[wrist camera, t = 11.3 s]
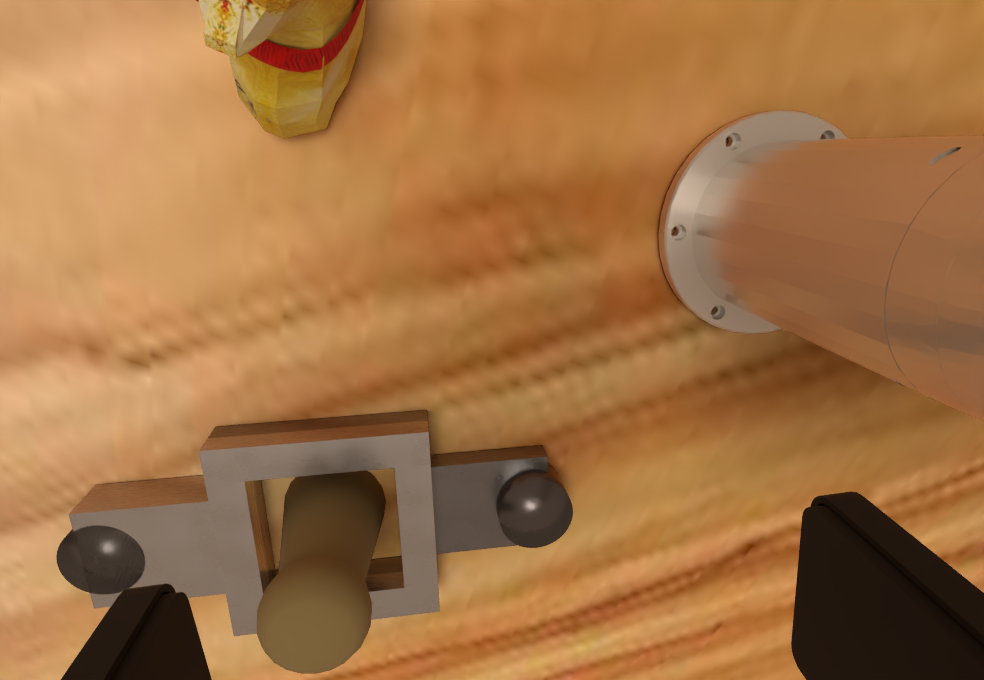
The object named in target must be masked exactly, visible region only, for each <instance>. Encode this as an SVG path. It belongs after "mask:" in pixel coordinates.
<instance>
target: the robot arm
mask: <svg viewBox="0 0 984 680" xmlns="http://www.w3.org/2000/svg"><path fill="white" fill-rule="evenodd" d="M726 138H728V140H729V142H728V145H727V146H726V142H725V141H726ZM674 227H675V228H676V231H675V233H674V234H673V235H671V231H672V229H673V228H674ZM658 238H659V250H660V259H661V262H662V266H663V269H664V273H665V276H666V278H667V280H668V282H669V284H670V286H671V288H672V290H673V292H674V293H675V295H676V296H677V297H678V298H679V300H680V301H681V302H682V303H683V304H684V306H685V307H686V308H687V309H689V310H690V311H691V312H693V313H694V314H695V315H696V316H698V317H699V318H700V319H702V320H704V321H706V322H707V323H709V324H711V325H713V326H715V327H718V328H721V329H724V330H727V331H730V332H735V333H743V334H761V333H770V332H774V331H778V330H781V329H784V330H786V331H789V332H791V333H793V334H795V335H797V336H799V337H801V338H803V339H806V340H808V341H810V342H812V343H814V344H816V345H818V346H820V347H823V348H825V349H827V350H829V351H831V352H833V353H835V354H837V355H840V356H842V357H844V358H846V359H848V360H850V361H852V362H854V363H856V364H859V365H861V366H863V367H865V368H867V369H869V370H871V371H873V372H876V373H878V374H880V375H882V376H884V377H886V378H888V379H890V380H893V381H895V382H897V383H899V384H901V385H903V386H906V387H908V388H910V389H912V390H914V391H916V392H918V393H920V394H922V395H924V396H926V397H929V398H931V399H933V400H936V401H938V402H941V403H943V404H945V405H947V406H949V407H951V408H954V409H956V410H958V411H960V412H963V413H965V414H967V415H970V416H972V417H975V418H978V419H980V420H983V421H984V135H974V136H935V137H895V138H855V139H849V138H848V137H847V136H846V135H845V134H844V133H843V132H842V131H841V130H840V129H839V128H837V127H836V126H834V125H832V124H831V123H829V122H828V121H826V120H824V119H823V118H820V117H817V116H814V115H811V114H808V113H805V112H799V111H788V110H779V111H767V112H761V113H757V114H753V115H748V116H744V117H742V118H740V119H737V120H735V121H733V122H731V123H729V124H726V125H724V126H723V127H721V128H720V129H718V130H717V131H716V132H714V133H713V134H711V135H710V136H708V137H707V138H706V139H705V140H704V141H703V142H702V143H701V144H700V145H699V146H698V147H697V148H696V149H695V150H694V151H693V152H692V153H691V154H690V155H689V156H688V158H687V159H686V160H685V162H684V163H683V165H682V166H681V168H680V169H679V170H678V172H677V173H676V175H675V177H674V179H673V181H672V184H671V186H670V188H669V190H668V192H667V194H666V198H665V201H664V205H663V208H662V212H661V216H660V226H659V235H658ZM713 308H714V310H713V311H712V309H713ZM711 311H712V312H711ZM791 643H792V652H793V656H794V659H795V662H796V664H797V666H798V668H799V670H800V671H801V673H802V674H803V676H804V677H805V678H806V680H984V593H983V592H982V591H980V590H979V589H978V588H977V587H975V586H974V585H973V584H972V583H970V582H969V581H968V580H967V579H966V578H964V577H963V576H962V575H961V574H959V573H958V572H957V571H956V570H954V569H953V568H952V567H951V566H949V565H948V564H947V563H946V562H944V561H943V560H942V559H941V558H939V557H938V556H937V555H936V554H934V553H933V552H932V551H931V550H929V549H928V548H927V547H926V546H924V545H923V544H922V543H921V542H919V541H918V540H917V539H916V538H914V537H913V536H912V535H911V534H909V533H908V532H907V531H906V530H904V529H903V528H902V527H901V526H899V525H898V524H897V523H896V522H894V521H893V520H892V519H891V518H889V517H888V516H887V515H886V514H885V513H883V512H882V511H881V510H880V509H878V508H877V507H876V506H875V505H873V504H872V503H871V502H870V501H868V500H867V499H866V498H865V497H863V496H862V495H860V494H858V493H857V492H845V493H838V494H830V495H823V496H818V497H816V498H814V500H813V501H812V503H811V507H808V508H806V509H805V510H804V512H803V516H802V527H801V538H800V550H799V561H798V573H797V584H796V596H795V607H794V619H793V630H792V642H791ZM61 680H212V679H211V676H210V672H209V669H208V666H207V662H206V659H205V655H204V652H203V648H202V645H201V641H200V638H199V634H198V631H197V628H196V624H195V621H194V617H193V614H192V610H191V607H190V603H189V600H188V598H187V595H186V594H185V593H183V592H177V593H176V591H175V589H174V588H173V586H172V585H171V584H167V583H166V584H158V585H151V586H143V587H136V588H128V589H126V590H124V591H123V592H122V593H121V594H120V595H119V596H118V597H117V599H116V600H115V602H114V603H113V605H112V606H111V607H110V609H109V610H108V612H107V613H106V615H105V616H104V618H103V619H102V621H101V622H100V623H99V625H98V626H97V628H96V629H95V631H94V632H93V634H92V635H91V637H90V638H89V639H88V641H87V642H86V644H85V645H84V647H83V648H82V650H81V651H80V653H79V654H78V655H77V657H76V658H75V660H74V661H73V663H72V664H71V666H70V667H69V669H68V670H67V671H66V673H65V674H64V676H63V677H62V679H61Z"/></svg>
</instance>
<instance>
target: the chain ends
mask: <svg viewBox="0 0 984 680" xmlns="http://www.w3.org/2000/svg"><path fill="white" fill-rule="evenodd" d="M199 454H200V459H201V465H202V470H203V475H200V476H189V477H178V478H166V479H155V480H144V481H132V482H121V483H110V484H98V485H95V486H94V487H93V488H92V490H91V491H90V492H89V493H88V494H87V495H86V496H85V497H84V498H83V499H82V500H81V502H80V503H79V504H78V505H77V506H76V507H75V508H74V509H73V510H72V511H71V512H70V513H69V518H70V521H71V525H72V530H71V531H70V533H69V534H68V535H67V536H66V537H65V538H64V539H63V541H62V542H61V544H60V546H59V548H58V551H57V564H58V567H59V570H60V572H61V573H62V575H63V576H64V578H65V579H66V580H67V581H68V582H70V583H71V584H72V585H74V586H75V587H77V588H79V589H81V590H83V591H86V592H89V593H90V595H91V599H92V603H93V606H94V608H101V607H110V606H112V605H113V603H114V602H115V600H116V599H117V597H118V596H119V595H120V594H121V593H122V592H123V591H124V590H126V589H128V588H136V587H143V586H151V585H158V584H166V583H167V584H171V585H172V586H173V588H174V589H175V591H176V593H177V592H183V593H185V594H186V595H187V598H191V597H200V596H209V595H218V594H226V597H227V602H228V607H229V613H230V618H231V623H232V628H233V634H234V636H240V635H248V634H256V633H257V609H258V606H259V603H260V601H261V598H262V596H263V594H264V592H265V590H266V587H267V586H268V585H269V583H270V582H271V581H272V580H273V579H274V578H275V577H276V575H277V574H278V573H279V570H275V566H274V560H273V553H272V547H271V541H270V534H269V528H268V522H267V515H266V509H265V503H264V496H263V490H262V484H261V480H266V479H277V478H288V477H299V476H310V475H321V474H332V473H343V472H354V471H365V470H376V469H387V468H395V480H396V492H397V504H398V516H399V528H400V540H401V552H402V556H400V557H391V558H382V559H372V560H371V563H370V566H369V570H368V573H367V577H366V580H365V582H366V584H367V588H368V591H369V594H370V598H371V601H372V615H371V620H373V619H381V618H389V617H398V616H406V615H414V614H423V613H431V612H439V611H440V605H439V589H438V573H437V557H436V554H441V553H450V552H460V551H469V550H478V549H487V548H496V547H506V546H515V545H519V546H522V547H527V548H537V547H542V546H546V545H548V544H551V543H553V542H554V541H556V540H557V539H559V538H560V537H561V536H562V535H563V534H564V533H565V532H566V530H567V529H568V527H569V525H570V523H571V520H572V515H573V508H572V503H571V501H570V498H569V496H568V494H567V492H566V490H565V488H564V486H563V484H562V482H561V480H560V477H559V475H558V473H557V472H556V470H555V469H554V468H553V467H552V466H551V465H550V464H549V463H547V455H546V452H545V450H544V448H543V446H542V445H539V446H528V447H516V448H505V449H494V450H483V451H471V452H460V453H449V454H437V455H430V445H429V430H428V419H427V410H420V411H407V412H395V413H382V414H370V415H357V416H344V417H332V418H319V419H307V420H294V421H281V422H269V423H256V424H244V425H231V426H218V427H215V428H214V430H213V431H212V433H211V434H210V436H209V437H208V439H207V440H206V442H205V443H204V445H203V446H202V448H201V449H200V451H199Z"/></svg>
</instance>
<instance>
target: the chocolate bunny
mask: <svg viewBox="0 0 984 680" xmlns="http://www.w3.org/2000/svg"><path fill="white" fill-rule="evenodd" d="M196 1H198V2H199V4H200V8H201V12H202V15H203V19H204V23H205V29H204V37H205V44H206V46H207V47H209V48H212V49H214V50H216V51H219V52H221V53H224V54H226V55H229V57H230V62H231V66H232V70H233V73H234V77H235V81H236V85H237V89H238V95H239V98H240V99H241V100H242V102H243V103H244V104H245V105H246V107H247V108H248V109H249V111H250V112H251V113H252V115H253V116H254V117H255V118H256V120H257V121H258V122H259V124H260V125H261V126H262V127H263V129H264V130H265V131H266V132H269V133H271V134H274V135H277V136H279V137H282V138H288V137H292V136H297V135H301V134H306V133H311V132H315V131H320V130H324V129H327V126H328V123H329V120H330V117H331V115H332V112H333V109H334V106H335V104H336V101H337V100H338V98H339V96H340V95H341V93H342V92H343V90H344V88H345V87H346V85H347V83H348V81H349V78H350V75H351V72H352V69H353V65H354V62H355V59H356V56H357V52H358V49H359V46H360V43H361V39H362V36H363V29H364V20H365V12H366V0H196Z"/></svg>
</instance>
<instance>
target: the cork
mask: <svg viewBox="0 0 984 680" xmlns="http://www.w3.org/2000/svg"><path fill="white" fill-rule="evenodd" d="M384 510H385V497H384V493H383V489H382V487H381V485H380V484H379V482H378V481H377V480H376V478H375V477H374V476H373V475H372V474H371V473H369V472H368V471H367V470H365V471H354V472H343V473H332V474H321V475H310V476H299V477H296V478H295V479H294V480H293V481H292V482H291V484H290V486H289V488H288V491H287V493H286V495H285V503H284V515H283V527H282V539H281V551H280V563H279V573H278V574H277V575H276V577H275V578H274V579H273V580H272V581H271V582H270V583H269V585H268V586H267V587H266V590H265V592H264V594H263V596H262V598H261V601H260V603H259V606H258V609H257V635H258V638H259V641H260V643H261V646H262V648H263V649H264V651H265V653H266V654H267V655H268V656H269V657H270V658H271V659H272V661H273V662H274V663H276V664H278V665H279V666H281V667H283V668H285V669H286V670H290V671H293V672H297V673H321V672H325V671H329V670H332V669H334V668H336V667H338V666H339V665H341V664H343V663H345V662H346V661H347V660H348V659H349V658H350V657H351V656H352V655H353V654H354V653H355V652H356V651H357V650H358V649H359V648H360V647H361V645H362V643H363V641H364V639H365V637H366V635H367V633H368V631H369V628H370V624H371V615H372V601H371V598H370V594H369V591H368V588H367V584H366V582H365V580H366V577H367V573H368V570H369V566H370V563H371V559H372V555H373V552H374V548H375V545H376V541H377V538H378V534H379V530H380V527H381V523H382V520H383V516H384Z"/></svg>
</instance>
